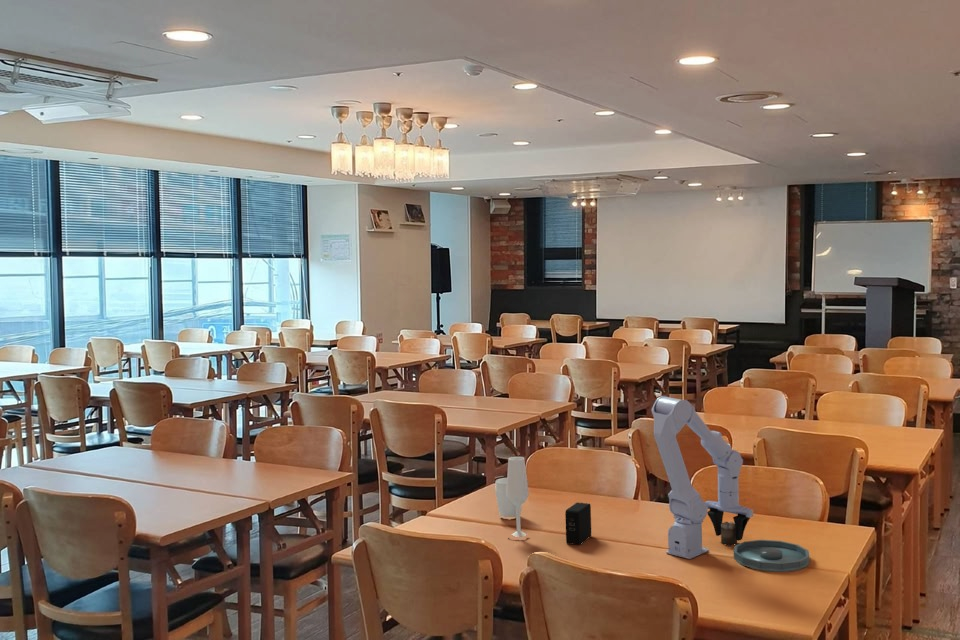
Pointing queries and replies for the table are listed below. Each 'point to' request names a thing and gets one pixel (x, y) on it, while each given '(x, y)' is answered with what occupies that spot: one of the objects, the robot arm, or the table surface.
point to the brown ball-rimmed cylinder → (728, 533)
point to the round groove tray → (785, 558)
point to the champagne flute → (517, 487)
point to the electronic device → (578, 523)
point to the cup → (504, 499)
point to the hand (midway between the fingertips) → (729, 537)
